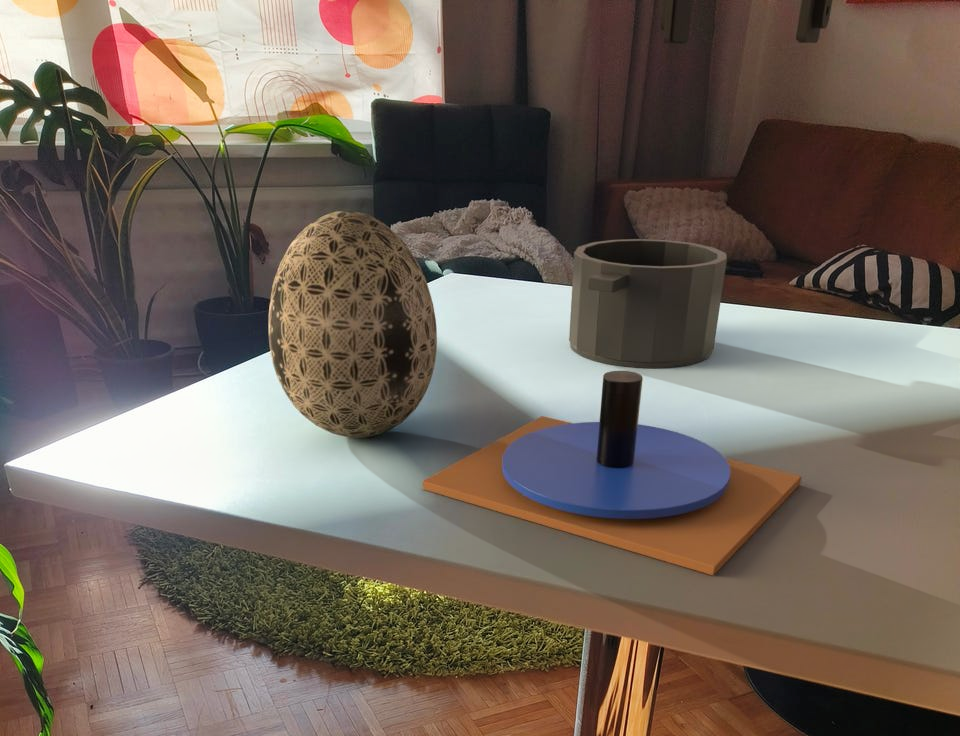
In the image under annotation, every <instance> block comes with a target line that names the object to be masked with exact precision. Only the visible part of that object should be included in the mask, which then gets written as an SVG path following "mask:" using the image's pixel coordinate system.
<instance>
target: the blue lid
mask: <svg viewBox="0 0 960 736" xmlns="http://www.w3.org/2000/svg"><path fill="white" fill-rule="evenodd" d="M643 380H644V378H643V376H642V375H641V374H640V373H638V372H635V371H630V370H612V371H607V372H604V374H603V375H602V387H601V398H600V399H601V400H600V411H599V421H587V422H586V421H585V422H584V421H583V422H576V423H575V422H574V423H573V422H570V423H571V424H564V425H558V426H553V427H548V428H544V429H540V430H537V431H534V432H531V433H529V434H526V435H524V436H522V437H520V438H518V439H517V440H515V441H514V442H512V443H511V444H510V445H509V446H508V447H507V449H506V450H505V452H504V454H503V457H502V472H503V475H504V477H505V479H506V480H507V482H508V483H509V484H510V485H511V486H512V487H513V488H514V489H515V490H517V491H518V492H519V493H521V494H522V495H524V496H526V497H528V498H530V499H531V500H534V501H536V502H538V503H541V504H543V505H546V506H549V507H552V508H555V509H558V510H562V511H566V512H570V513H575V514H581V515H586V516H593V517H602V518H615V519H647V518H659V517H668V516H673V515H679V514H683V513H687V512H691V511H694V510H697V509H700V508H702V507H705V506H707V505H709V504H711V503H713V502H714V501H716V500H717V499H718V498H720V497H721V496H722V495H723V494H724V493H725V492H726V490H727V488H728V486H729V482H730V475H731V470H730V466H729V464H728V462H727V460H726V459H727V458H725V457H724V456H723V454H722V453H720V451H718V450H717V449H715V448H714V447H713V446H711V445H709V444H707V443H706V442H704V441H702V440H699V439H697V438H694V437H693V436H690V435H687V434H684V433H680V432H678V431H674V430H670V429H666V428H662V427H657V426H651V425H645V424H639V418H640V417H639V416H640V409H641V408H640V407H641V399H642V391H643Z"/></svg>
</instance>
